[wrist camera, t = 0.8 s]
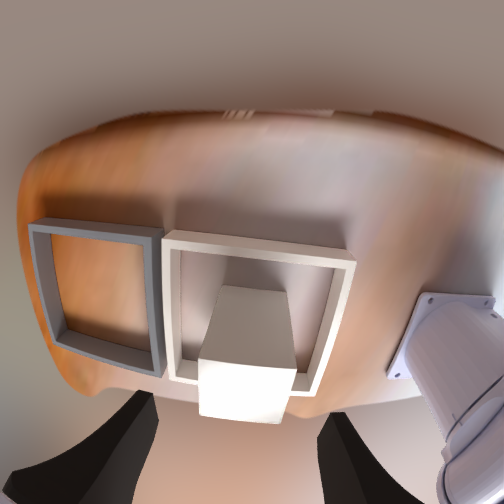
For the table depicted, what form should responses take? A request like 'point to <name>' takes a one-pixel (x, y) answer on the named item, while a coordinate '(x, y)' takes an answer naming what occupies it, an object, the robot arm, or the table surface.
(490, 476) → the robot arm
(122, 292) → the table surface
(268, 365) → the white rectangular block
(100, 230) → the bin
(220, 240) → the bin
